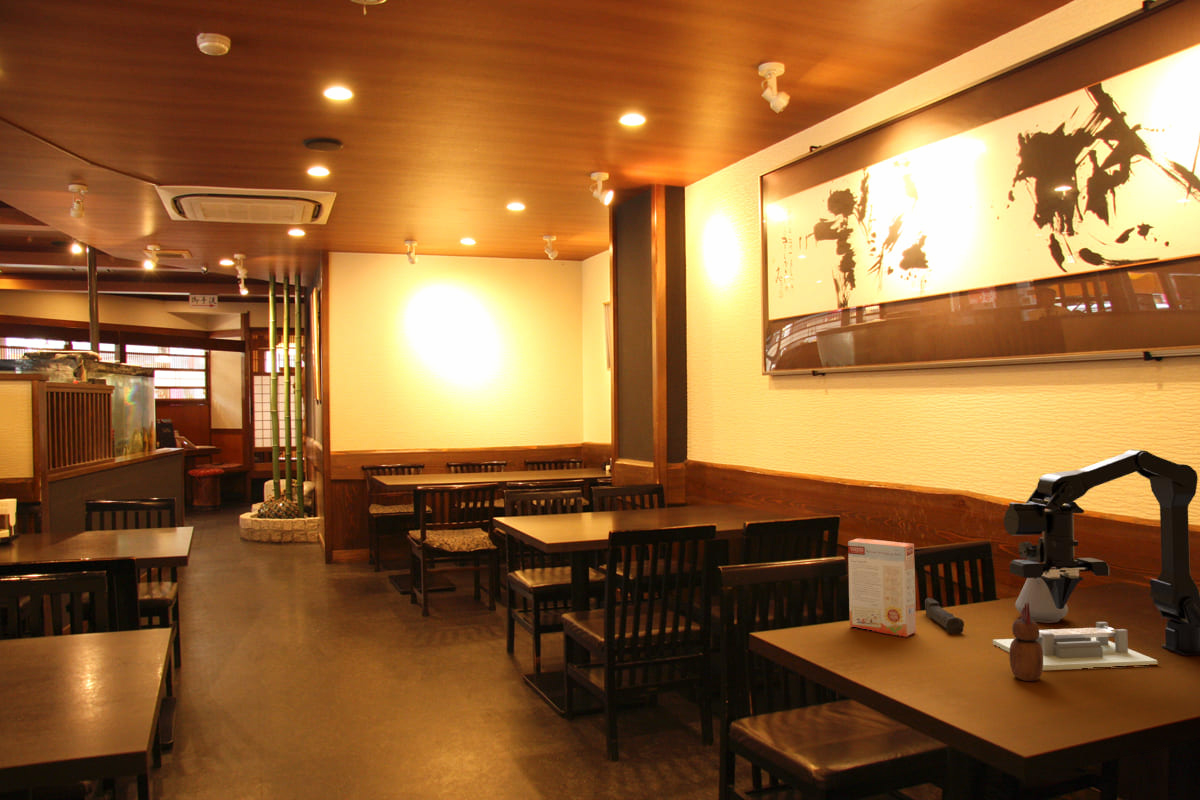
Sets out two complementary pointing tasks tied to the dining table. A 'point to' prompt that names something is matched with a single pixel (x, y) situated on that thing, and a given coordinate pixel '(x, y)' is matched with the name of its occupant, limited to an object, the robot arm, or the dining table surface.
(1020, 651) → the wooden figurine
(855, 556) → the cracker box
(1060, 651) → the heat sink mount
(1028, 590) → the coffee pot
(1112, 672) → the dining table surface
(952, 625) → the hand tool
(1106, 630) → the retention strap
